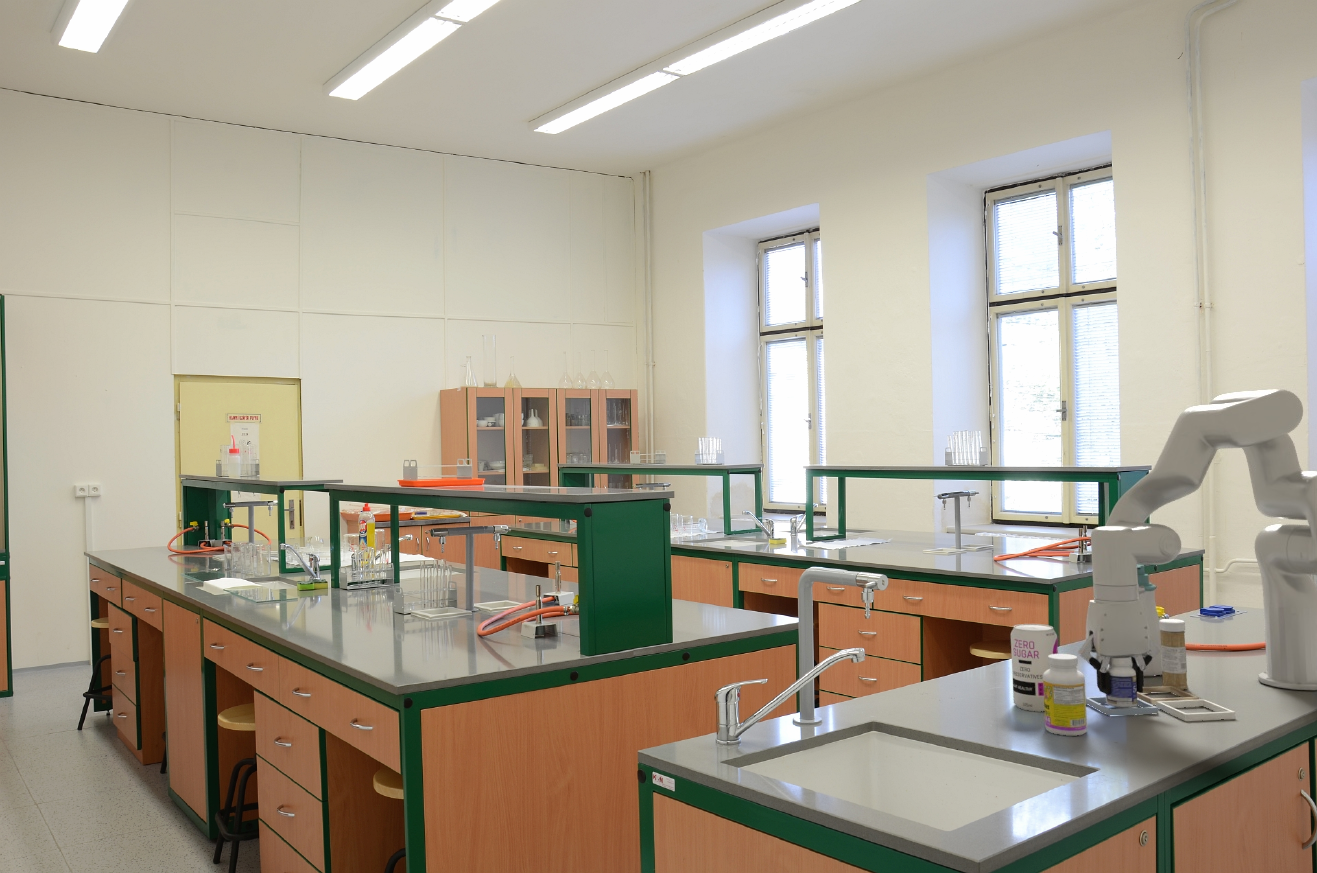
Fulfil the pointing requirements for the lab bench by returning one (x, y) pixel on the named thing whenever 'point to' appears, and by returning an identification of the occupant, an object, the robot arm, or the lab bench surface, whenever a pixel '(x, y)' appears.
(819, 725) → the lab bench surface
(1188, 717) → the tray white
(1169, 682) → the sprinkles bottle
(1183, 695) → the tray birch
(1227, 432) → the robot arm
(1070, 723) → the supplement bottle
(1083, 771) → the lab bench surface
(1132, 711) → the tray slate
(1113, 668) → the pill bottle
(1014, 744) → the lab bench surface
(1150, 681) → the lab bench surface
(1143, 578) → the soap bottle
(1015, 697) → the supplement can
